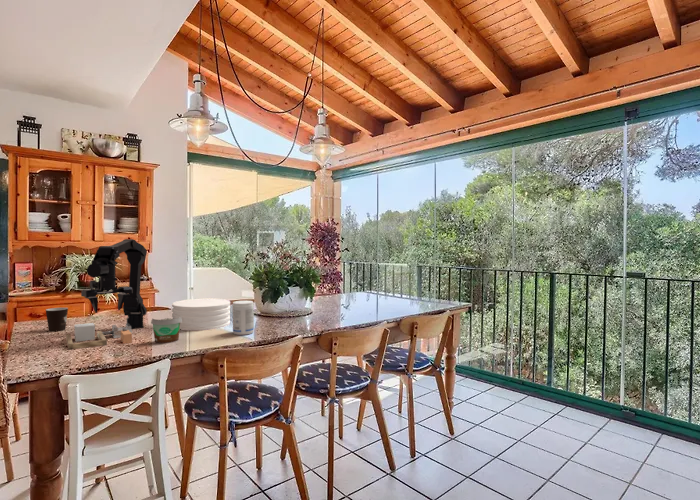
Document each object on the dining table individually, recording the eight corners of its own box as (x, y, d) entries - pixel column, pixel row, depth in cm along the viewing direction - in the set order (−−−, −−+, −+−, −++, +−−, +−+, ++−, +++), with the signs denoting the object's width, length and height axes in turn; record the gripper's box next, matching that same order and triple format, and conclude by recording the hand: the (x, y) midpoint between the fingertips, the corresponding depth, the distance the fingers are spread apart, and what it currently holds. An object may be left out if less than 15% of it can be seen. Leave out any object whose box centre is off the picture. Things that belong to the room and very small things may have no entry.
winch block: (129, 332, 192) (129, 323, 192) (131, 335, 186) (131, 326, 186) (101, 336, 185) (101, 326, 185) (103, 339, 180) (103, 328, 180)
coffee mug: (56, 332, 191) (56, 311, 190) (41, 331, 192) (40, 310, 192) (78, 327, 202) (77, 307, 202) (63, 326, 204) (62, 306, 203)
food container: (151, 345, 171) (151, 321, 171) (151, 341, 177) (151, 318, 176) (183, 342, 177) (183, 318, 177) (182, 338, 182) (182, 316, 182)
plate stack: (241, 323, 217) (241, 301, 217) (196, 333, 194) (196, 308, 193) (206, 317, 232) (206, 296, 232) (160, 325, 209) (160, 303, 208)
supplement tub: (252, 330, 201) (252, 299, 201) (254, 334, 192) (255, 302, 192) (231, 331, 198) (231, 300, 197) (233, 336, 189) (233, 303, 188)
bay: (101, 335, 186) (101, 331, 186) (106, 344, 170) (106, 340, 170) (66, 339, 179) (66, 334, 179) (68, 349, 163) (68, 344, 163)
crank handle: (128, 338, 182) (128, 327, 182) (131, 343, 175) (131, 331, 174) (120, 339, 180) (120, 328, 180) (123, 344, 173) (123, 332, 173)
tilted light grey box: (93, 336, 185) (93, 322, 185) (95, 339, 179) (95, 325, 179) (74, 338, 180) (74, 324, 180) (75, 341, 175) (75, 327, 175)
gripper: (121, 273, 191) (121, 306, 192) (75, 275, 176) (76, 312, 177) (133, 274, 185) (133, 309, 185) (86, 277, 170) (86, 315, 170)
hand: (107, 311), depth 179 cm, fingers open, 9 cm apart
